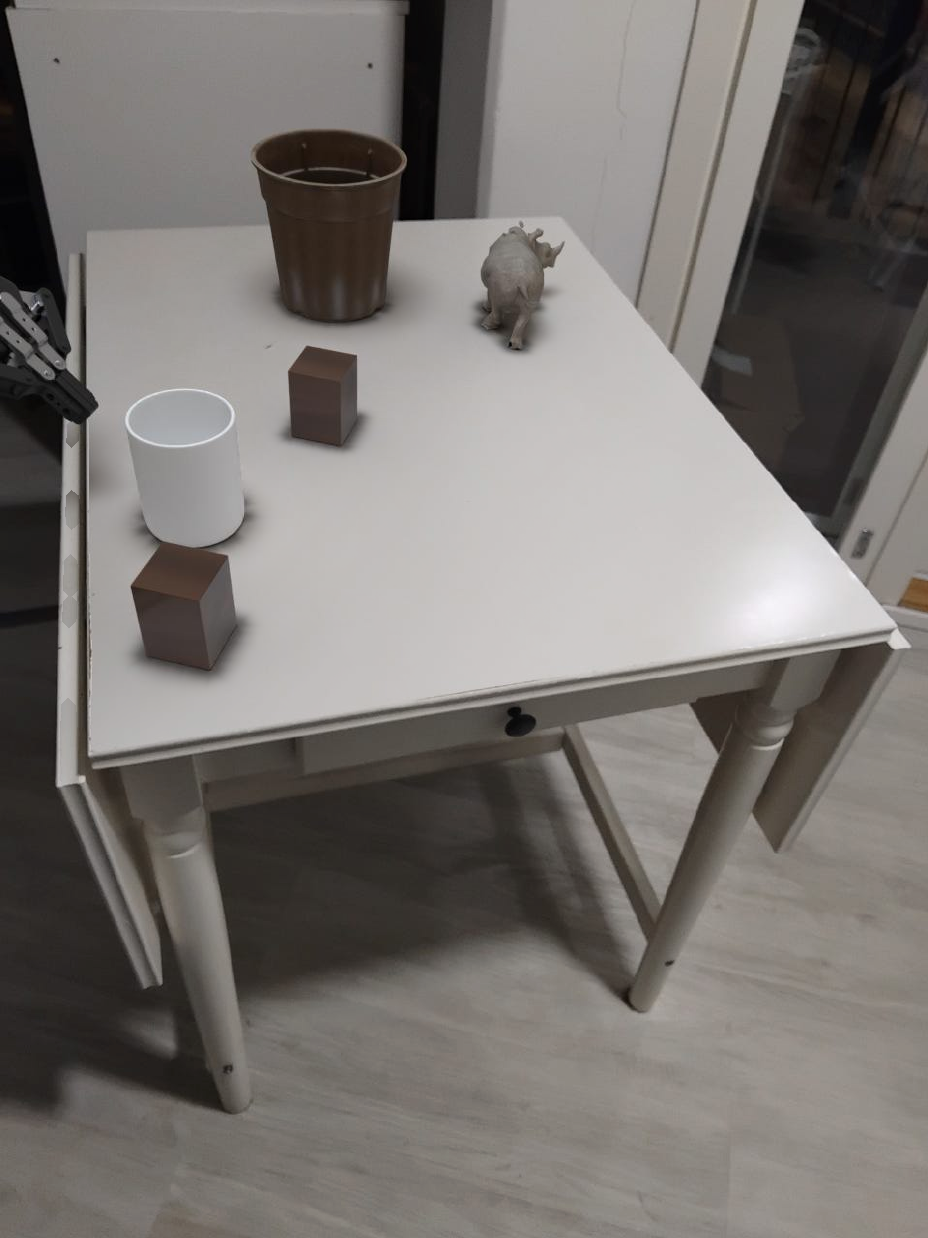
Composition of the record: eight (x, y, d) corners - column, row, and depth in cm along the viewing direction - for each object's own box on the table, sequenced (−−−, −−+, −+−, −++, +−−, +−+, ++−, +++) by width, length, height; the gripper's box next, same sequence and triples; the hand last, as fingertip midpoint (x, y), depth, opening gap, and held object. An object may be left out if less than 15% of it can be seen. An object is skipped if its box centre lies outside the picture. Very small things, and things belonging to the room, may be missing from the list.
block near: (210, 670, 69) (198, 601, 64) (145, 655, 69) (129, 585, 64) (237, 624, 72) (228, 555, 67) (175, 610, 73) (162, 540, 68)
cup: (151, 557, 77) (130, 453, 70) (135, 471, 84) (115, 370, 77) (253, 541, 79) (243, 439, 72) (229, 459, 87) (217, 360, 80)
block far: (341, 446, 90) (340, 381, 85) (291, 436, 90) (287, 370, 85) (357, 418, 93) (357, 354, 88) (309, 409, 94) (306, 345, 89)
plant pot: (284, 341, 103) (275, 189, 92) (245, 276, 113) (232, 132, 102) (422, 322, 108) (430, 176, 97) (373, 261, 119) (375, 123, 107)
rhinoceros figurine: (454, 327, 103) (495, 187, 100) (467, 346, 116) (504, 222, 114) (522, 348, 102) (565, 207, 100) (528, 364, 116) (566, 240, 113)
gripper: (-136, 250, 64) (71, 438, 71) (-21, 181, 73) (151, 354, 81) (-175, 309, 68) (23, 481, 75) (-62, 237, 77) (105, 396, 85)
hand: (89, 415), depth 78 cm, fingers closed
